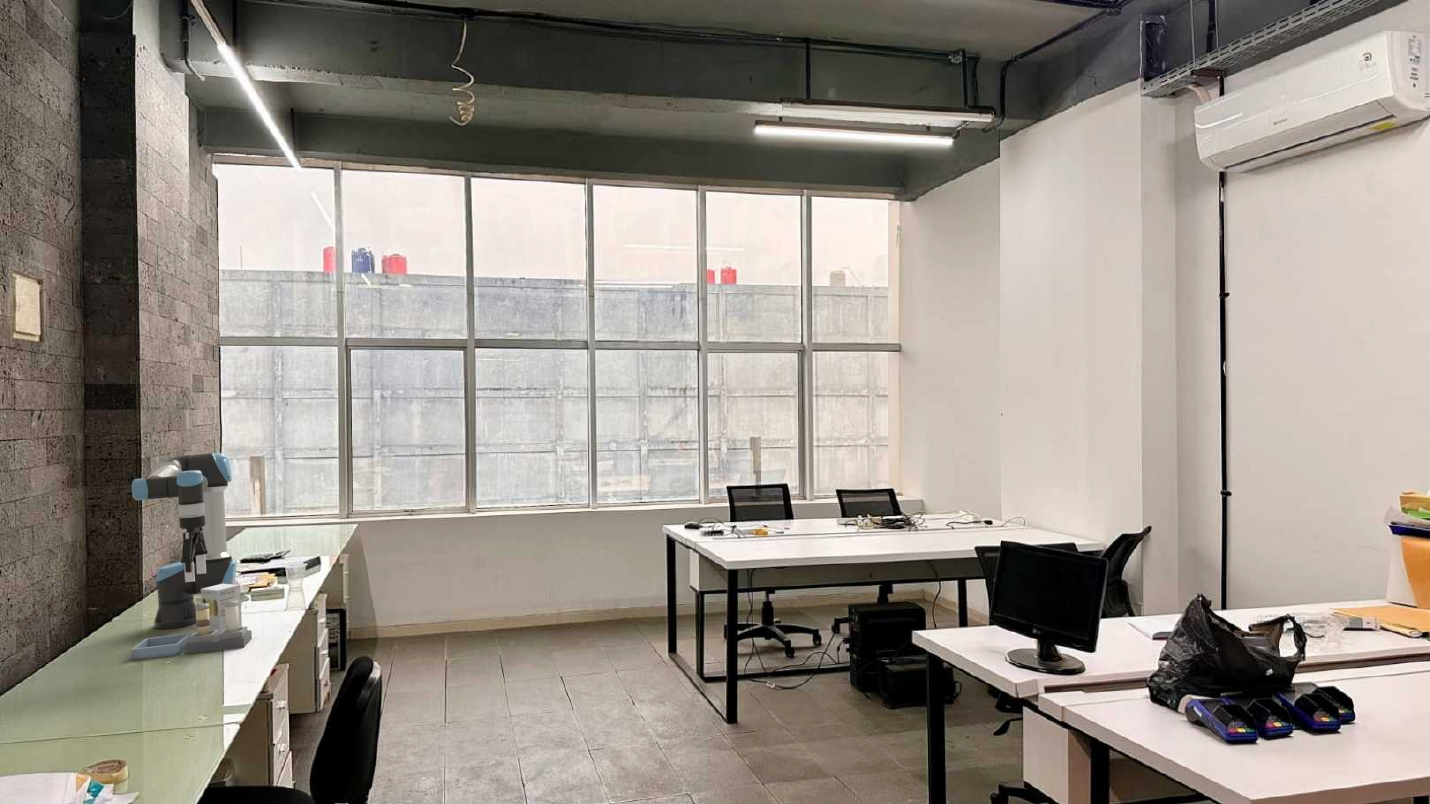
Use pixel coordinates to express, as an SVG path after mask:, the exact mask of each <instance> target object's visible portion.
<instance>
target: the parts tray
mask: <svg viewBox="0 0 1430 804" xmlns="http://www.w3.org/2000/svg"><path fill="white" fill-rule="evenodd" d="M191 635H192V633H181V634H174V635H165V636H157V637H156V636H154V637H148V638H144V639H143V640H142V641H141V642H139V643H137V644H136V645H135V646H134V647H132V648H131V650H130V657H131V659H130V660H131V661H134V660H135V661H136V660H143V659H153V658H161V657H163V658H164V657H168V656H178V655H180V654H181V653H182V652H184V651H185V645H186V644H187V643H188V642H189V637H190V636H191Z"/></svg>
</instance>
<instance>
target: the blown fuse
mask: <svg viewBox="0 0 1430 804" xmlns="http://www.w3.org/2000/svg"><path fill="white" fill-rule="evenodd" d="M195 610H196V623H195V625H196V632H197V636H203V635H211V631H210V615H209V603H203V604H202V603H198V604H195Z"/></svg>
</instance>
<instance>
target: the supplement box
mask: <svg viewBox="0 0 1430 804" xmlns="http://www.w3.org/2000/svg"><path fill="white" fill-rule="evenodd" d="M200 598H201V599H200V600H201V601H200V602H201V604H203V603H209V615H210V630H218V629H219V633H220V632H221V631H222V630H223V629H226V618H225V607H224V602H226V601H231V600H238V614H239V627H243V621H242V620H243V619H242V604H241V585H240V584H234V585H233V584H219V585H215V586H211V587H207V588H203V589H201V594H200Z"/></svg>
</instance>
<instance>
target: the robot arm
mask: <svg viewBox="0 0 1430 804" xmlns="http://www.w3.org/2000/svg"><path fill="white" fill-rule="evenodd" d="M232 480H233V476H232V470H231V465H230V460H229V458H228V456H227V455H226V454H225V453H223V452H221V453H220V452H218V453H217V452H215V453H214V452H211V453H200V454H199V453H198V454H188V455H187V454H186V455H179V456H174V457H171V458H169V459H167V460H166V459H165V460H164V461H162V462H160V463H159V464H158V465H156V467H155V468H154V469H153V471H152V473H151V474H150V475H149V476H148V477H146V478H145V477H141V478H136V479H133V481H132V483H131V494H132V497H133V500H135V501H149V500H158V499H171V498H177V501H178V507H177V508H176V510H177V511H178V515H179V517H180V518H179V520H178V522H179V528H180V529H181V530H183V529H184V530H186V532H183V534H182V537H183V538H182V551H181V560H180V561H179V562H174V563H170V564H167V565H164V566H162V567H159V569H157V572H156V580H155V582H156V587H157V600H158V607H157V611H156V615H155V617H154V621H153V623H154V624H153V625H154V626H153V627H154V628H155V629H157V630H158V629H159V630H167V629H176V628H177V629H178V628H182V627H187V626H191V625H194V624H196V610H195V605H196V602H195V598H194V596H195V595H201V589H203V588H207V587H211V586H215V585H219V584H233V585H235V582H236V575H237V560H236V559H233V558H232V557H233V555H232V554H231V553H229V552H228V546H227V544H228V543H227V529H226V528H227V527H226V526H227V525H226V509H225V508H226V507H225V506H226V505H225V494H224V493H225V490H226V489H228V487H229V484H228V483H230V482H232ZM195 552H196V555H195V561H194V553H195ZM194 562H195V563H194Z"/></svg>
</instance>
